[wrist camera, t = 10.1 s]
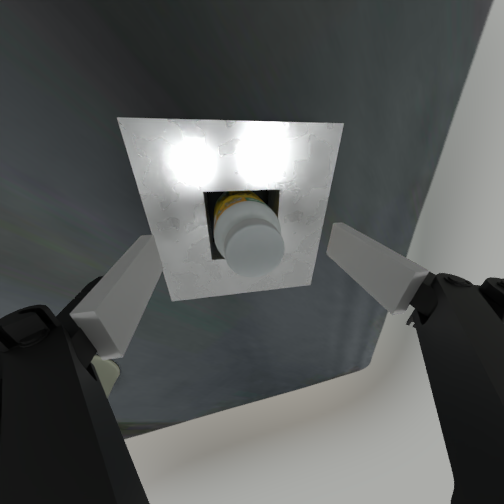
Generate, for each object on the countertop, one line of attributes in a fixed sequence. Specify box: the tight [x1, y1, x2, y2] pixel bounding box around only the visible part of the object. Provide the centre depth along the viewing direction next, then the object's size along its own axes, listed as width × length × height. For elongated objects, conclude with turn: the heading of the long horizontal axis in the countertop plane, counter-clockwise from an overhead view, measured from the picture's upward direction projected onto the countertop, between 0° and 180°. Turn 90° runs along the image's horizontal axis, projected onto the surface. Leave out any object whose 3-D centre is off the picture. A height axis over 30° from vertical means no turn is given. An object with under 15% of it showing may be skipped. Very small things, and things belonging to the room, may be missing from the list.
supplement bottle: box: [214, 190, 285, 277], centre depth 16 cm, size 5×5×10 cm
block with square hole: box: [117, 117, 344, 301], centre depth 18 cm, size 16×16×4 cm
